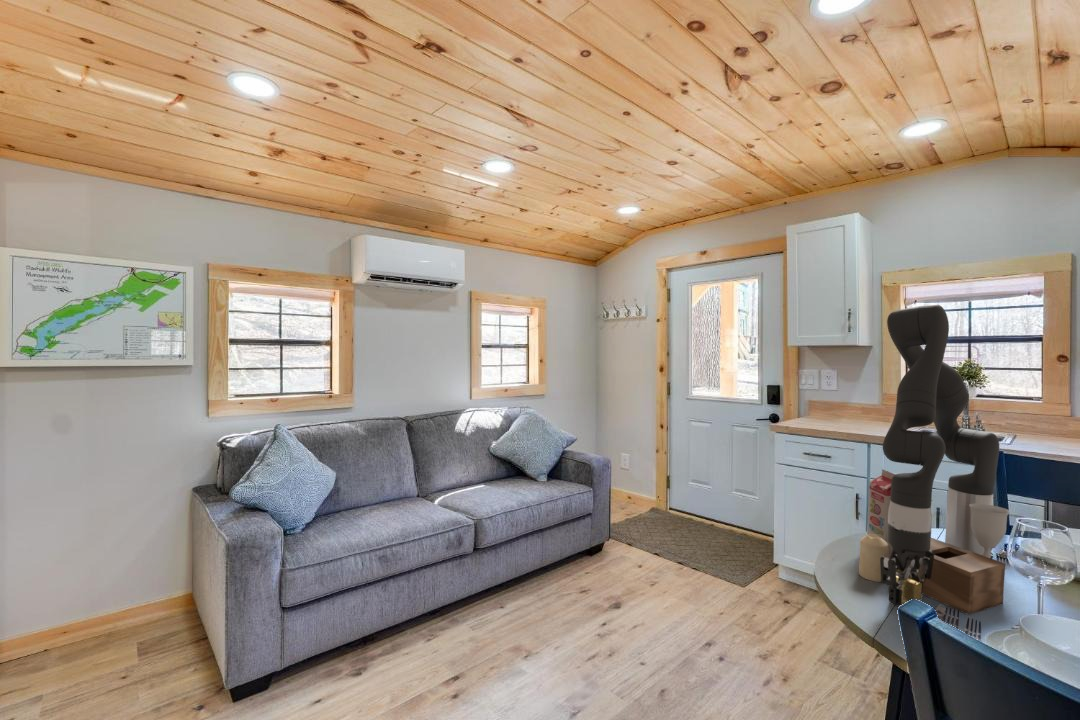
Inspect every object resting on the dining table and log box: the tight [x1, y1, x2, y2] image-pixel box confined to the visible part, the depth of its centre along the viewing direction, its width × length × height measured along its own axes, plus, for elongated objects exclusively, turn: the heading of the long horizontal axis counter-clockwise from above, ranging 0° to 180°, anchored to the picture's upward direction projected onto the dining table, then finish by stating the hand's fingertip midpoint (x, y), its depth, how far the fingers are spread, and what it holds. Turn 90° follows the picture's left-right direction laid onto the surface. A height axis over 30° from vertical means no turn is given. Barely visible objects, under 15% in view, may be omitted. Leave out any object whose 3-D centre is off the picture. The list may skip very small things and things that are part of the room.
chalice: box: [969, 504, 1011, 559], centre depth 121 cm, size 7×7×18 cm
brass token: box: [896, 576, 922, 605], centre depth 111 cm, size 2×5×6 cm, turn 22°
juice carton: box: [866, 469, 897, 557], centre depth 136 cm, size 7×7×22 cm
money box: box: [896, 537, 1006, 615], centre depth 117 cm, size 12×16×9 cm
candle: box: [858, 533, 888, 583], centre depth 124 cm, size 6×6×10 cm
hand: (905, 601), depth 111 cm, fingers open, 6 cm apart
